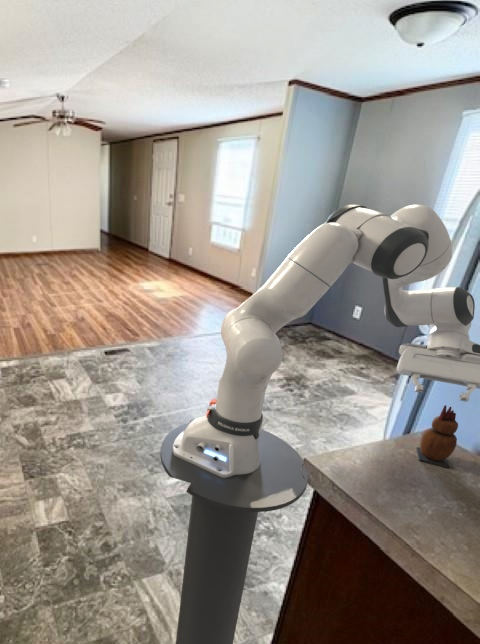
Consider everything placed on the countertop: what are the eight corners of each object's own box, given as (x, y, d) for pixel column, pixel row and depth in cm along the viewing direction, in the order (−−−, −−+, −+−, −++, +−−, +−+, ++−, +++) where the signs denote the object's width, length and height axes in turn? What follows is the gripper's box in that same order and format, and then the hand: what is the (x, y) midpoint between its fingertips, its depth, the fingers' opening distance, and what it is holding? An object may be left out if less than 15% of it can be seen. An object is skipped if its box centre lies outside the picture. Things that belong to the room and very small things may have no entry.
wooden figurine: (420, 460, 105) (441, 408, 99) (412, 447, 110) (431, 397, 104) (452, 466, 103) (475, 413, 98) (442, 452, 109) (463, 401, 103)
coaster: (418, 460, 106) (419, 459, 106) (416, 448, 111) (416, 447, 111) (448, 468, 103) (449, 466, 103) (444, 455, 108) (445, 453, 108)
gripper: (403, 336, 115) (395, 382, 111) (500, 351, 106) (496, 401, 102) (397, 346, 121) (390, 390, 117) (489, 361, 111) (485, 409, 107)
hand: (440, 396), depth 109 cm, fingers open, 8 cm apart
